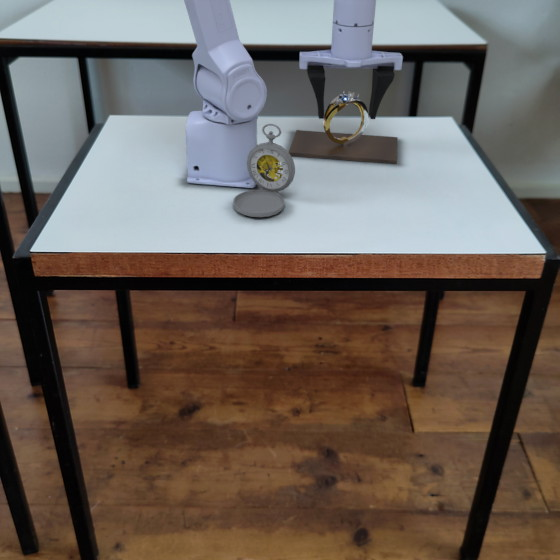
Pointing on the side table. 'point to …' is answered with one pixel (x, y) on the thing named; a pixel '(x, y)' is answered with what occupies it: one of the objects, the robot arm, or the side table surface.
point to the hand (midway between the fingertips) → (346, 116)
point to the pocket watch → (266, 178)
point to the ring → (333, 110)
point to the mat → (344, 147)
